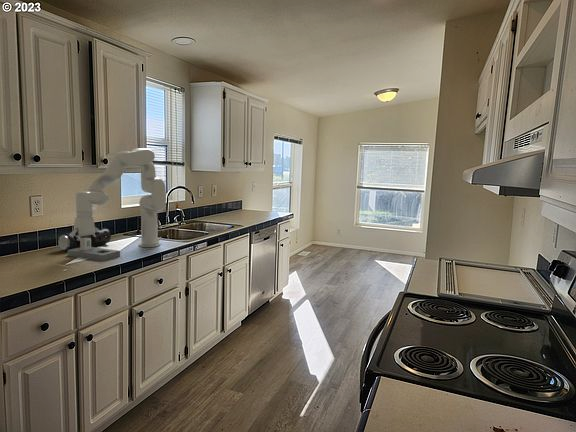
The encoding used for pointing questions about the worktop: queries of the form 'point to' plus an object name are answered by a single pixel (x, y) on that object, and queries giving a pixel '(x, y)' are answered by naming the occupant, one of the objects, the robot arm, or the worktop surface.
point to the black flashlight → (100, 239)
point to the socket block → (94, 253)
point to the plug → (85, 244)
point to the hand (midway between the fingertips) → (85, 246)
